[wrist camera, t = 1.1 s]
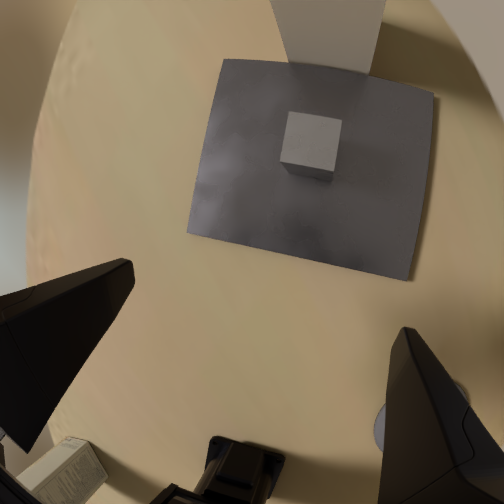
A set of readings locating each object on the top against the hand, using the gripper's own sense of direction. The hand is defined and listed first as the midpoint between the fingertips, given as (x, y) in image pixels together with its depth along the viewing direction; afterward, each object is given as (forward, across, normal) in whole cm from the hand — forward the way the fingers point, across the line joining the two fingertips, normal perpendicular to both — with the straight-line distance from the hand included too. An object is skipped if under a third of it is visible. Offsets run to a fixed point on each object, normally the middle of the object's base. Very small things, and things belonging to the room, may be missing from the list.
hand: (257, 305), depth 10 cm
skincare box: (0, +18, +31) cm, 36 cm away
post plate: (+13, 0, -2) cm, 13 cm away
